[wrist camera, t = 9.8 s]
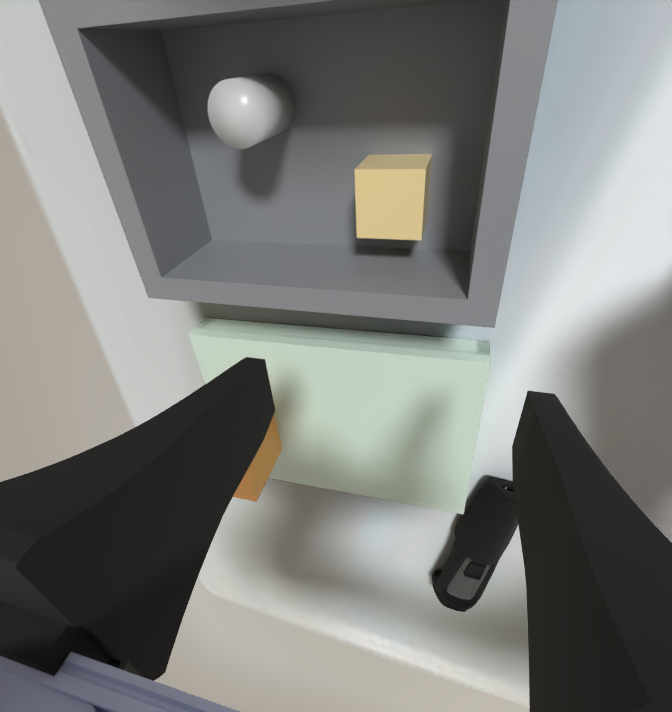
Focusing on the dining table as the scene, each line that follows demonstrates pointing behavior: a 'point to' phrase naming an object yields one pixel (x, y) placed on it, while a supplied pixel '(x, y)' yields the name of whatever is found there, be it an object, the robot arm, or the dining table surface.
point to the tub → (313, 145)
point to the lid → (359, 408)
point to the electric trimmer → (477, 545)
